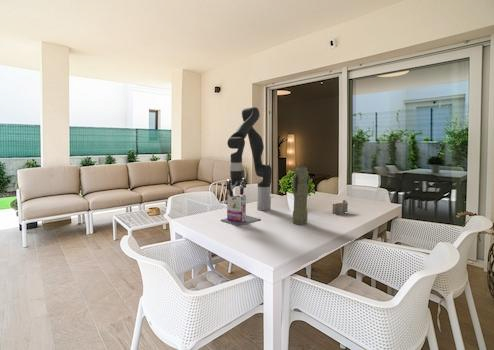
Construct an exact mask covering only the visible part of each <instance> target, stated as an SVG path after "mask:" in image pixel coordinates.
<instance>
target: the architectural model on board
mask: <svg viewBox="0 0 494 350" xmlns="http://www.w3.org/2000/svg"><path fill="white" fill-rule="evenodd" d="M348 205H349V203H348V201H347V200H346V199H342V202H336V203H332V213H333V214H332V215H334V214H337V215H339V214H338V213H344V214H346V213H345V212H347V213H348V208H349V207H348Z"/></svg>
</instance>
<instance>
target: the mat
mask: <svg viewBox="0 0 494 350" xmlns="http://www.w3.org/2000/svg"><path fill="white" fill-rule="evenodd" d="M258 221H262V219H261V218H258V217H254V216H249V215H246V221H244V222H236V221H230V220H227V217H226V218H223V219H220V222H223V223H227V224H229V225H233V226H236V227H239V226H243V225H247V224H251V223H255V222H258Z"/></svg>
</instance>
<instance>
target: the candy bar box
mask: <svg viewBox="0 0 494 350" xmlns="http://www.w3.org/2000/svg"><path fill="white" fill-rule="evenodd" d="M226 196H227V197H226V208H227V211H226V214H227V215H226V216H227V217H226V218H227V220H230V221H236V222H244V221H246V213H247V212H246V209H247V207H246V205H247V199H246V198H247V195H246V194H243V195H240V194H236V193H233V197H230V195H229V194H227V195H226Z"/></svg>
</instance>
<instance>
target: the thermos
mask: <svg viewBox="0 0 494 350" xmlns="http://www.w3.org/2000/svg"><path fill="white" fill-rule="evenodd" d="M309 188H310V175H309V173H308V168H307V167H306V166H296V168H295V170H294V175H293V177H292V193H293V211H292V224H293V225H297V226H306V225H308V211H307V210H308V196H309V190H310V189H309ZM305 224H306V225H305Z"/></svg>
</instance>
